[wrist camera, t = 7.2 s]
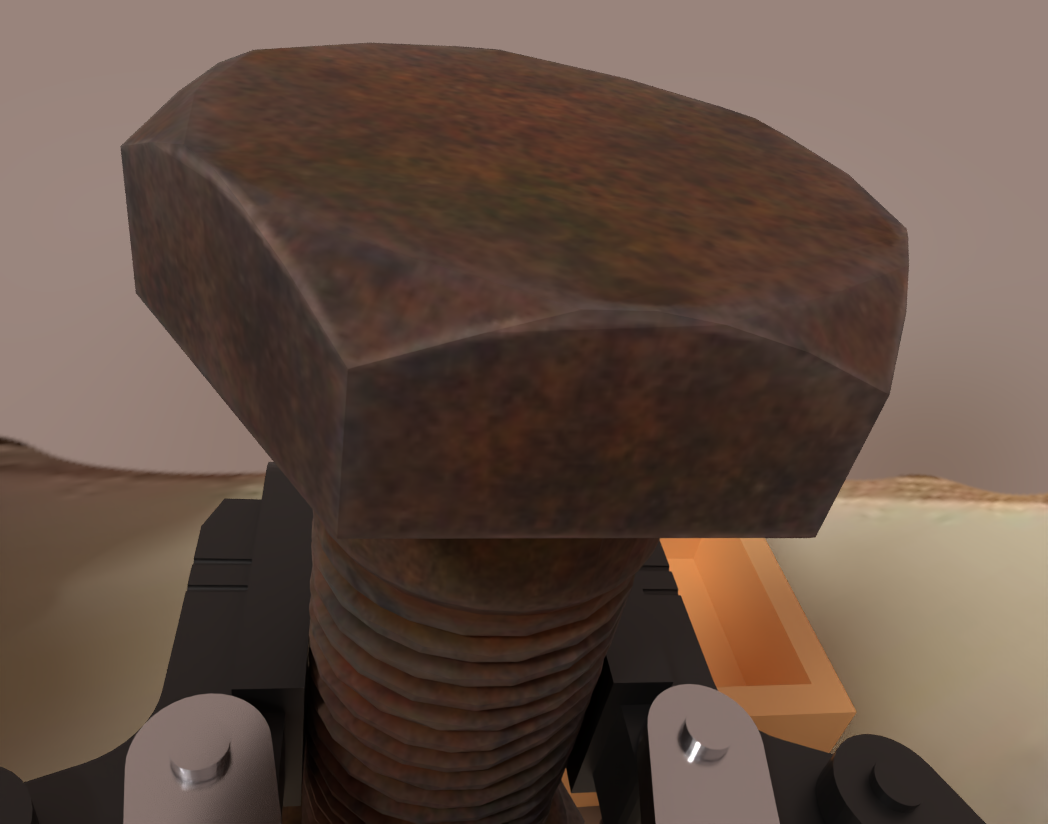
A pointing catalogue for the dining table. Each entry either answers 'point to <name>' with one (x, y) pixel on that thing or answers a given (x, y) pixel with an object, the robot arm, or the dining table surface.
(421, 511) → the bolt
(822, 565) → the dining table surface
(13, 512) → the dining table surface
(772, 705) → the orange open box
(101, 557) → the dining table surface
